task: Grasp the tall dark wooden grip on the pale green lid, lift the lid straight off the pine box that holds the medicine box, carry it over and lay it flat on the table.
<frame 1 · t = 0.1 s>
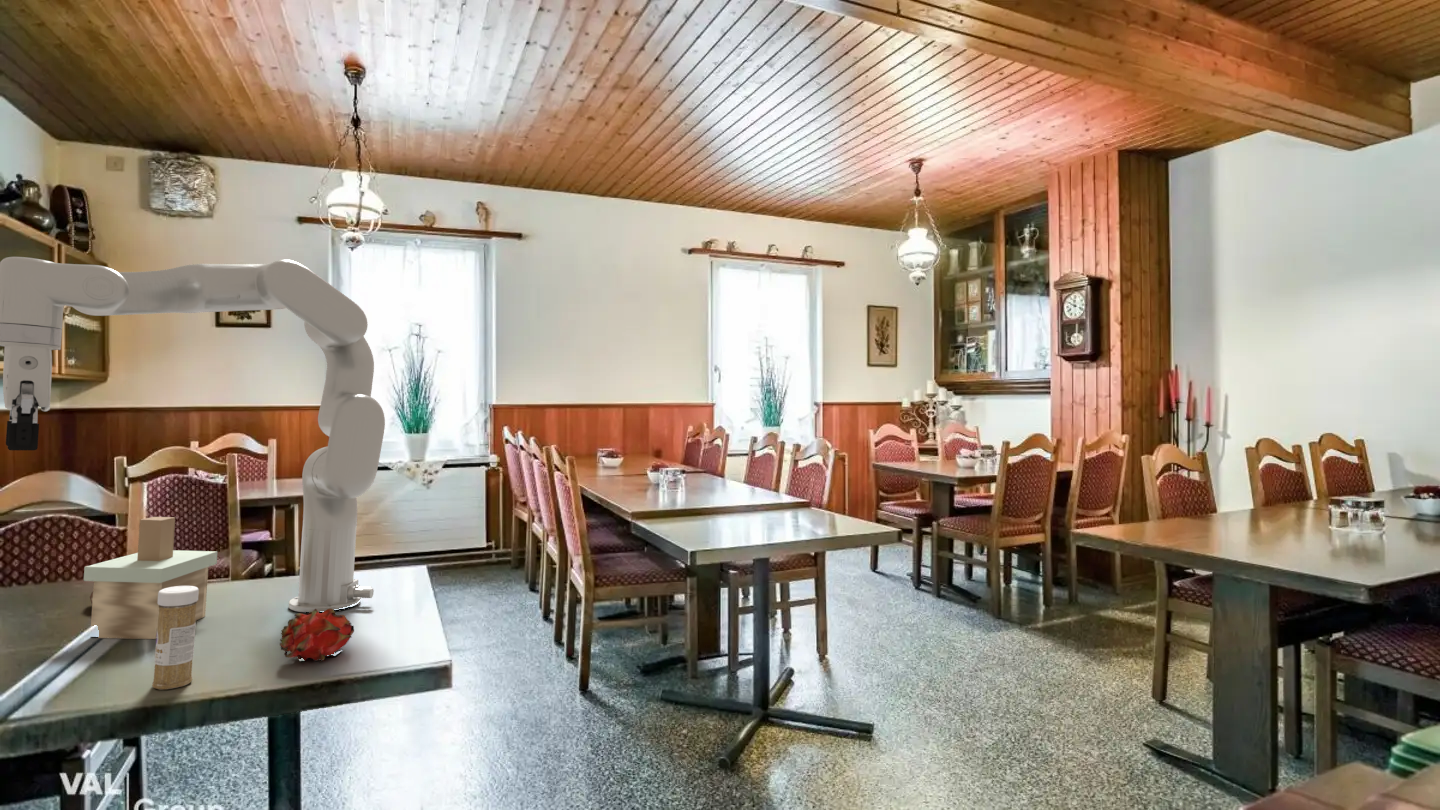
hand: (21, 448, 110), 31 cm above the table, tool pointing down, fingers open, 9 cm apart
pine box: (150, 626, 123), on the table
dragon fruit: (317, 658, 113), on the table
sprinkles bottle: (172, 686, 99), on the table
medicine box: (151, 626, 123), resting in pine box
lid: (154, 563, 124), point 11 cm above the table, touching pine box
donut: (135, 605, 136), on the table
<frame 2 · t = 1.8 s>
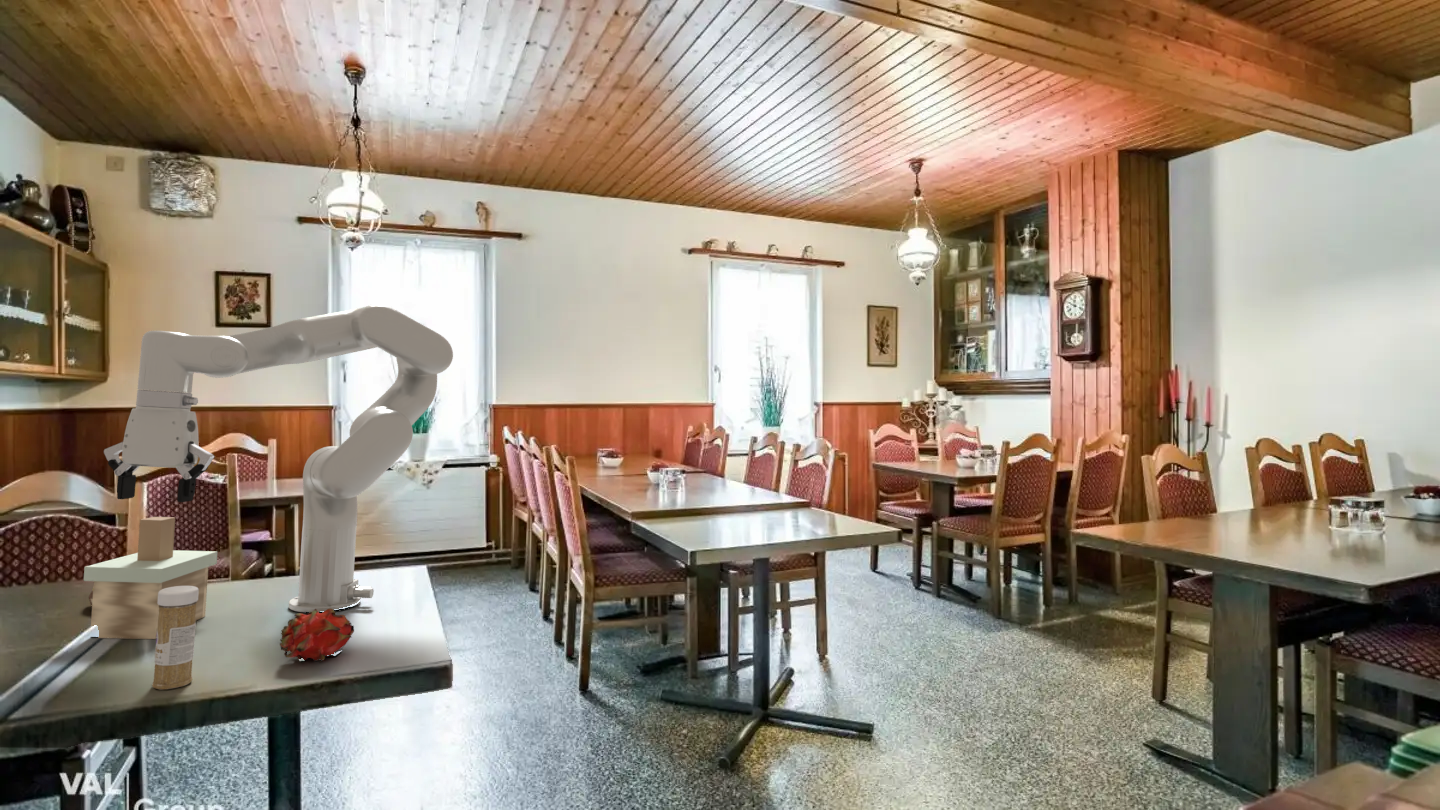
hand: (155, 499, 124), 22 cm above the table, tool pointing down, fingers open, 9 cm apart
nothing on the table moved.
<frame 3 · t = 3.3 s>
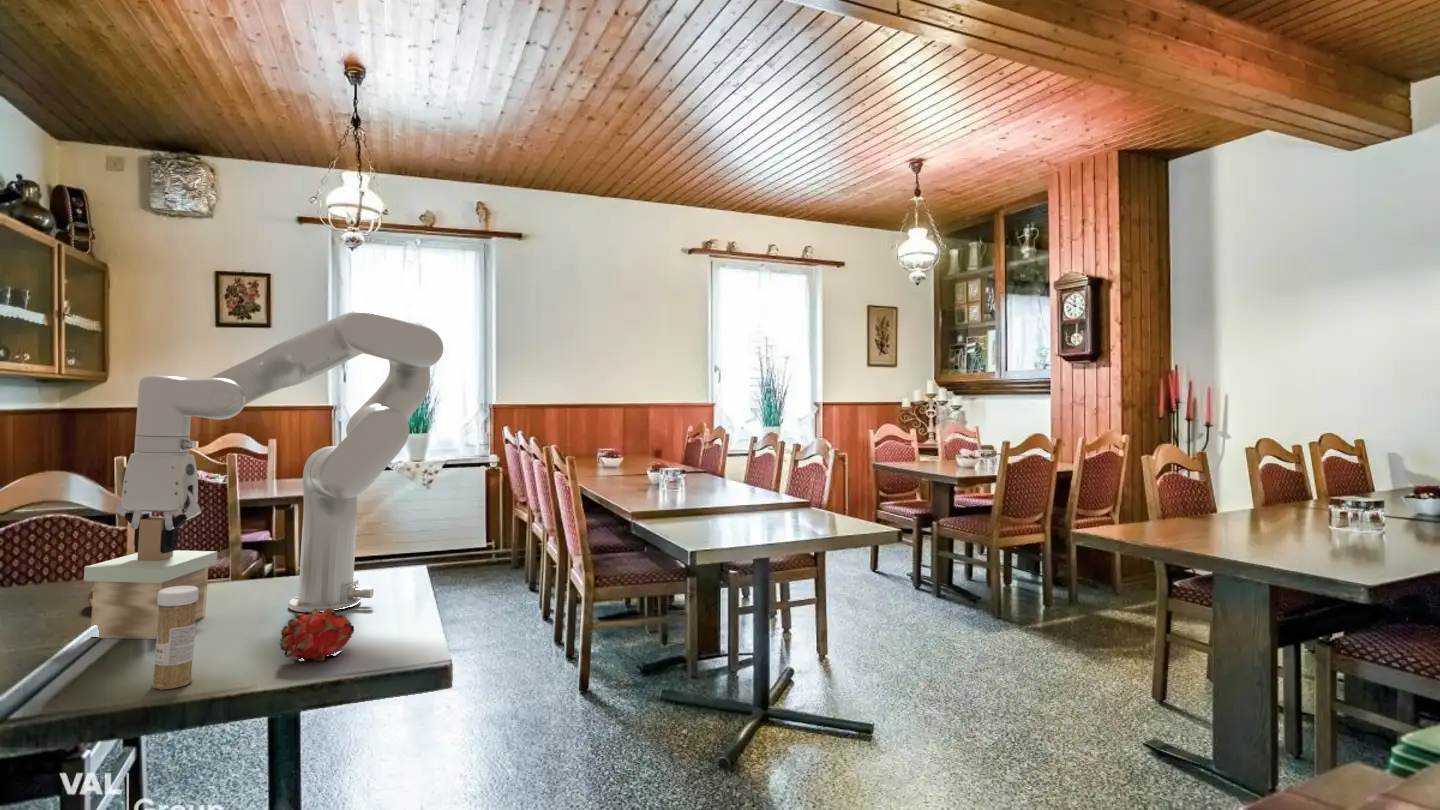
hand: (155, 550, 124), 13 cm above the table, tool pointing down, fingers closed on lid, 3 cm apart
lid: (154, 563, 124), point 11 cm above the table, touching gripper, pine box
everything else where it was.
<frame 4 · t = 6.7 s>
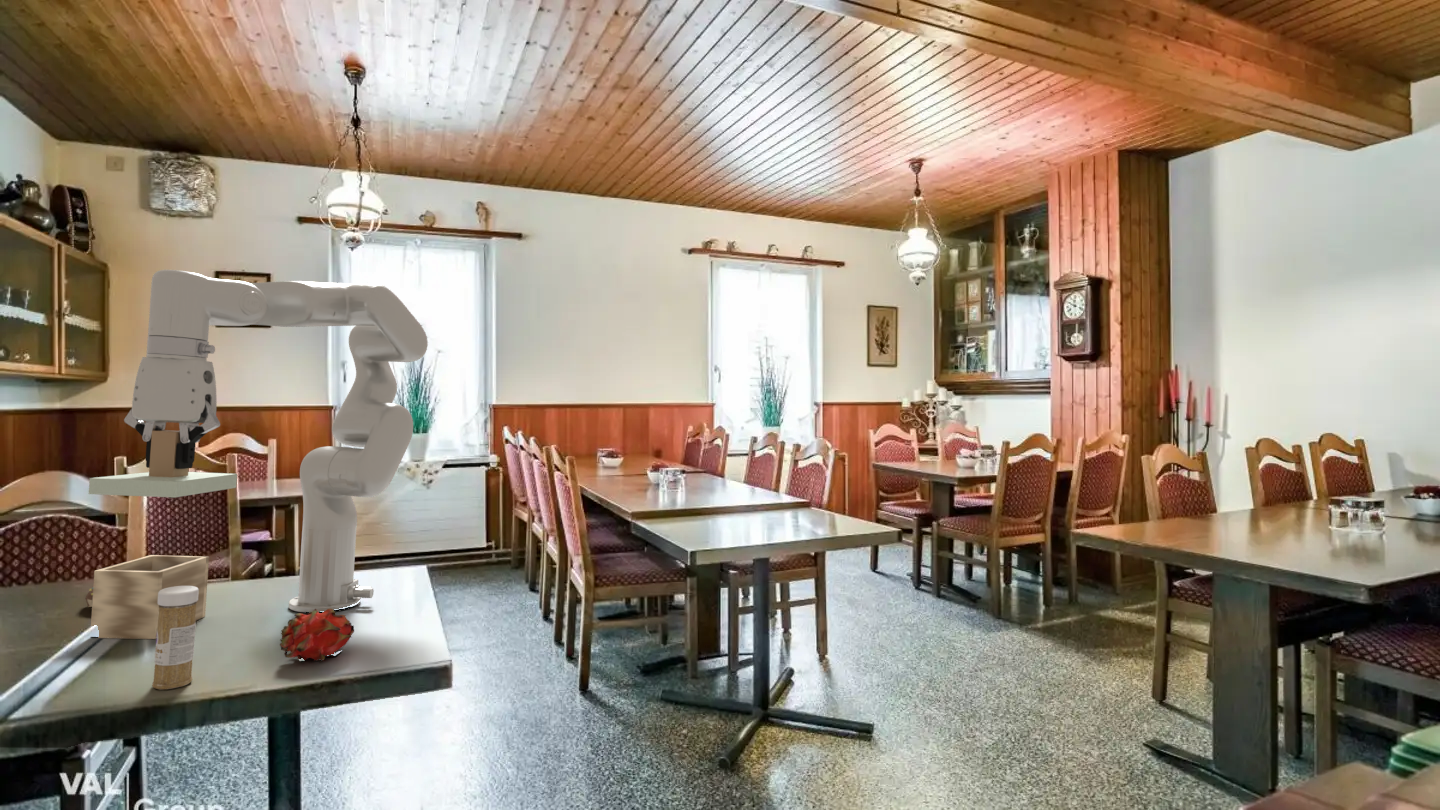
hand: (169, 466, 111), 29 cm above the table, tool pointing down, fingers closed on lid, 3 cm apart
lid: (168, 481, 111), point 27 cm above the table, touching gripper
everything else where it was.
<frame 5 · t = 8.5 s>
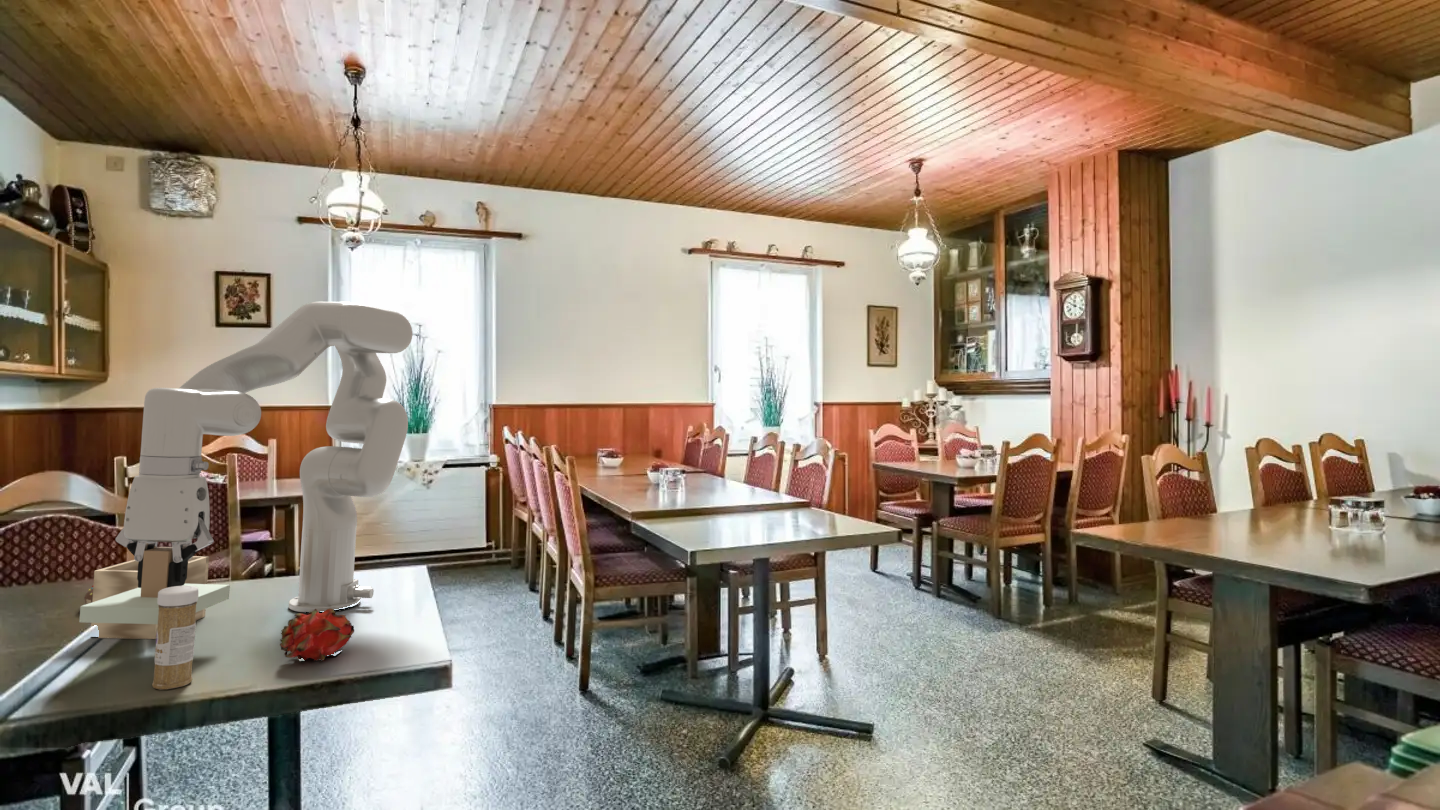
hand: (161, 585, 110), 11 cm above the table, tool pointing down, fingers closed on lid, 3 cm apart
lid: (160, 599, 109), point 9 cm above the table, touching gripper
everything else where it was.
when the fingers open (5 cm above the table, at t = 10.0 s): lid stays where it is, point 1 cm above the table.
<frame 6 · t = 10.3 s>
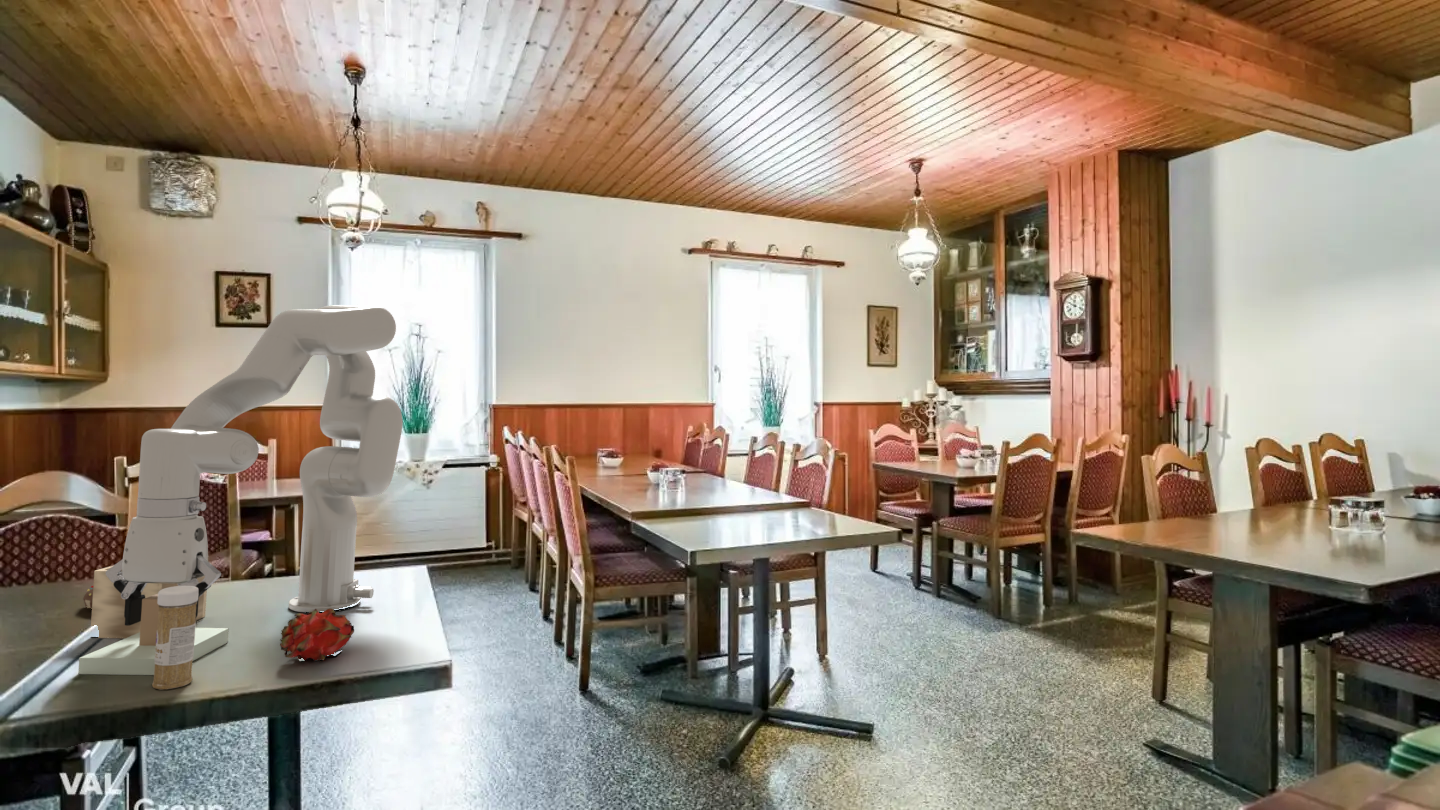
hand: (160, 622, 110), 5 cm above the table, tool pointing down, fingers open, 7 cm apart
lid: (159, 647, 110), point 1 cm above the table
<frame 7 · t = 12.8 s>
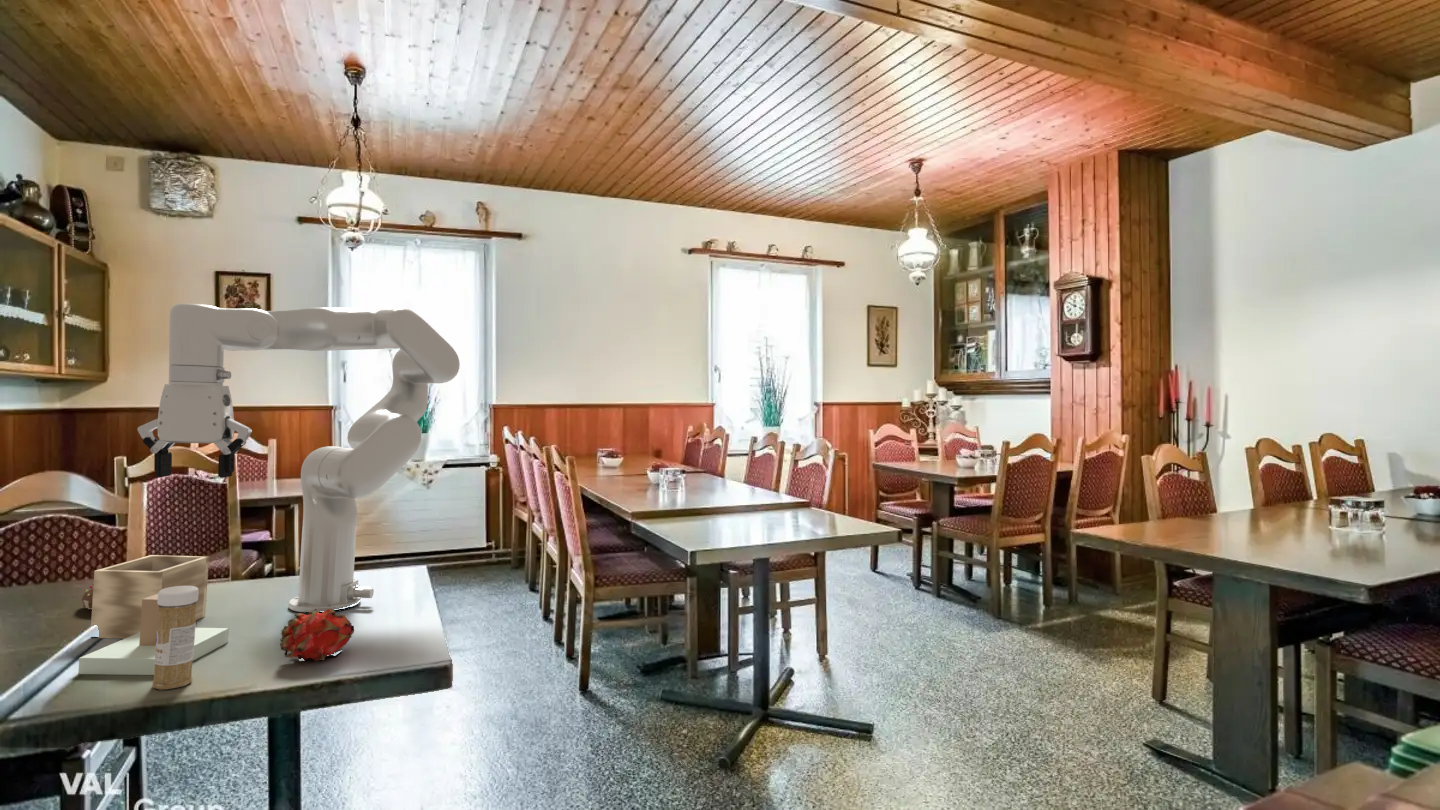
hand: (194, 476, 122), 27 cm above the table, tool pointing down, fingers open, 9 cm apart
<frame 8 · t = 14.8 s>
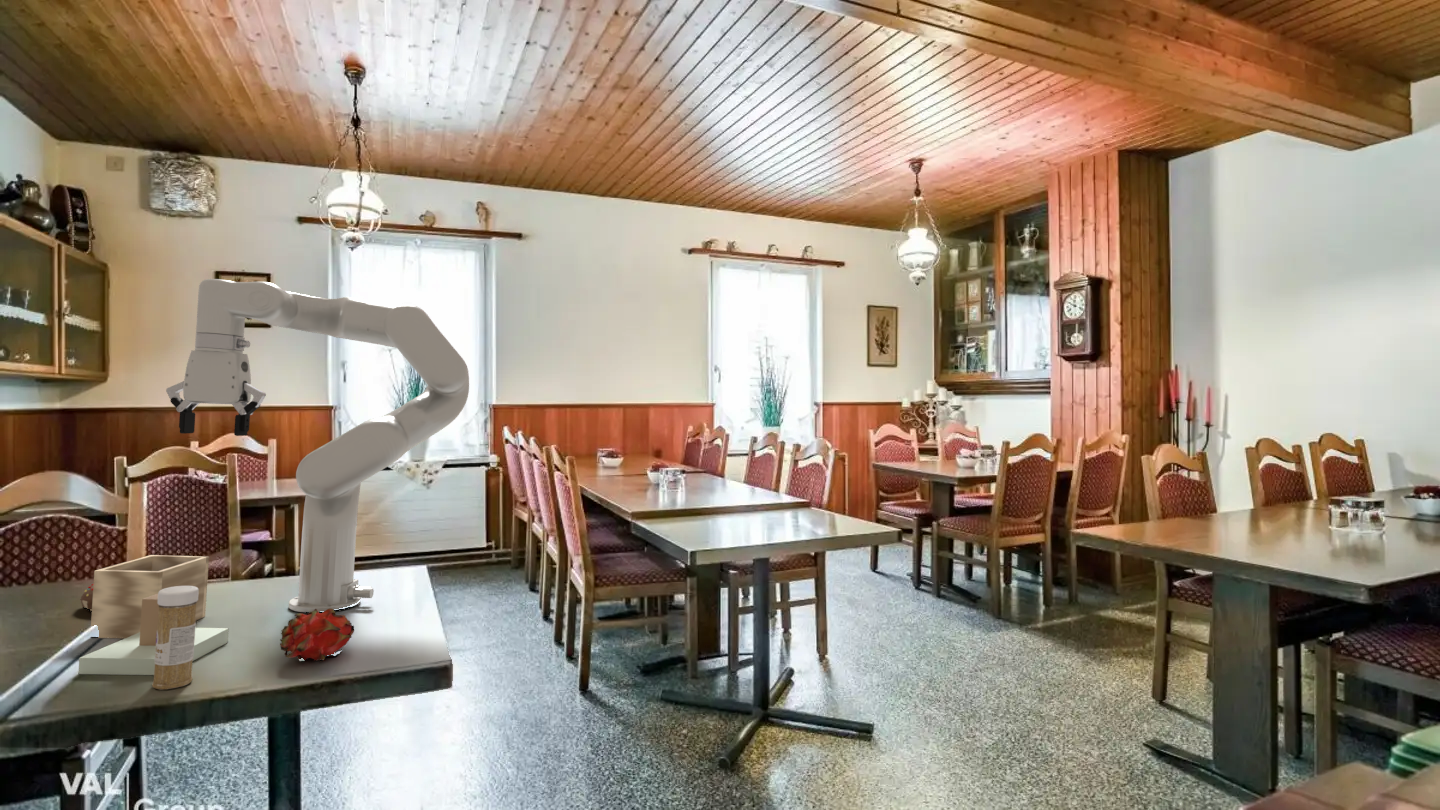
hand: (213, 434, 135), 33 cm above the table, tool pointing down, fingers open, 9 cm apart
at the end: lid inside the target area (0.0 cm from its centre), point 1.5 cm above the table; lid tilted 0°; the gripper is holding nothing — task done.
